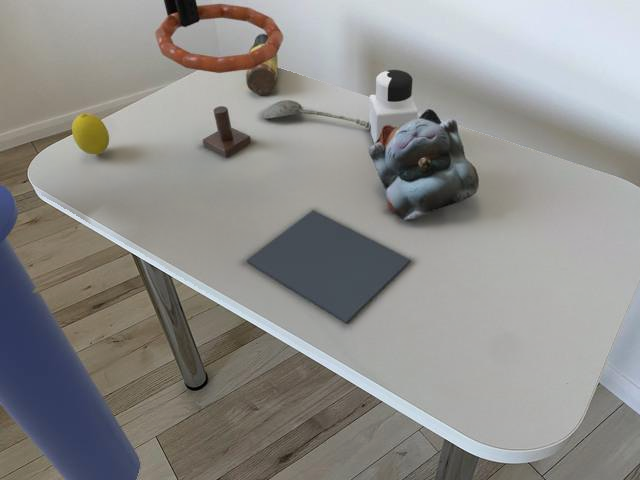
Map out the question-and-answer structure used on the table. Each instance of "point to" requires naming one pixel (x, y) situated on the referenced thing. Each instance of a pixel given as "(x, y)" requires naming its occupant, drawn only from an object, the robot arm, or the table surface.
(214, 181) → the table surface
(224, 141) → the post stand
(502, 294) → the table surface
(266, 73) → the sauce bottle
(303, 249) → the mat
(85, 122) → the lemon
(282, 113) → the soupspoon
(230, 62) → the ring
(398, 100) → the medicine bottle
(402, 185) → the lucky cat figurine
